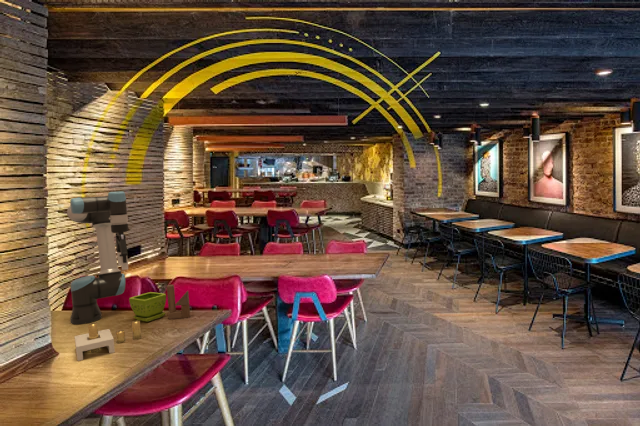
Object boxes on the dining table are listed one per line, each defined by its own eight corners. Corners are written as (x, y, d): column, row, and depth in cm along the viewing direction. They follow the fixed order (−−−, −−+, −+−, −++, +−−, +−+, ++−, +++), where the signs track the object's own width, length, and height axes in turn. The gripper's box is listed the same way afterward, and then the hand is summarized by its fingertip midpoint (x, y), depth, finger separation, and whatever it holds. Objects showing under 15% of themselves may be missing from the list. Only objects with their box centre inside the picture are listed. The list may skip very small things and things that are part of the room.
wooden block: (188, 318, 225) (186, 285, 224) (168, 319, 224) (165, 286, 223) (190, 315, 229) (187, 283, 227) (170, 317, 228) (167, 284, 226)
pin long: (90, 350, 186) (87, 324, 185) (99, 348, 188) (96, 322, 187) (90, 353, 183) (88, 326, 182) (100, 350, 185) (97, 324, 184)
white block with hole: (75, 349, 188) (74, 336, 188) (110, 341, 196) (109, 328, 195) (77, 361, 175) (76, 347, 174) (114, 352, 182) (113, 338, 182)
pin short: (116, 341, 195) (115, 331, 195) (124, 339, 197) (123, 329, 197) (117, 344, 192) (116, 333, 192) (125, 342, 194) (124, 331, 194)
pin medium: (132, 338, 199) (131, 321, 198) (140, 336, 201) (139, 319, 200) (133, 340, 196) (132, 323, 195) (141, 338, 198) (140, 321, 197)
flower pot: (168, 316, 230) (166, 293, 229) (146, 324, 218) (144, 300, 217) (152, 313, 237) (150, 291, 236) (129, 320, 225) (127, 297, 225)
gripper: (107, 222, 210) (111, 264, 212) (113, 226, 189) (118, 272, 191) (124, 221, 214) (127, 262, 216) (131, 224, 193) (135, 270, 195)
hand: (123, 267), depth 203 cm, fingers open, 13 cm apart
